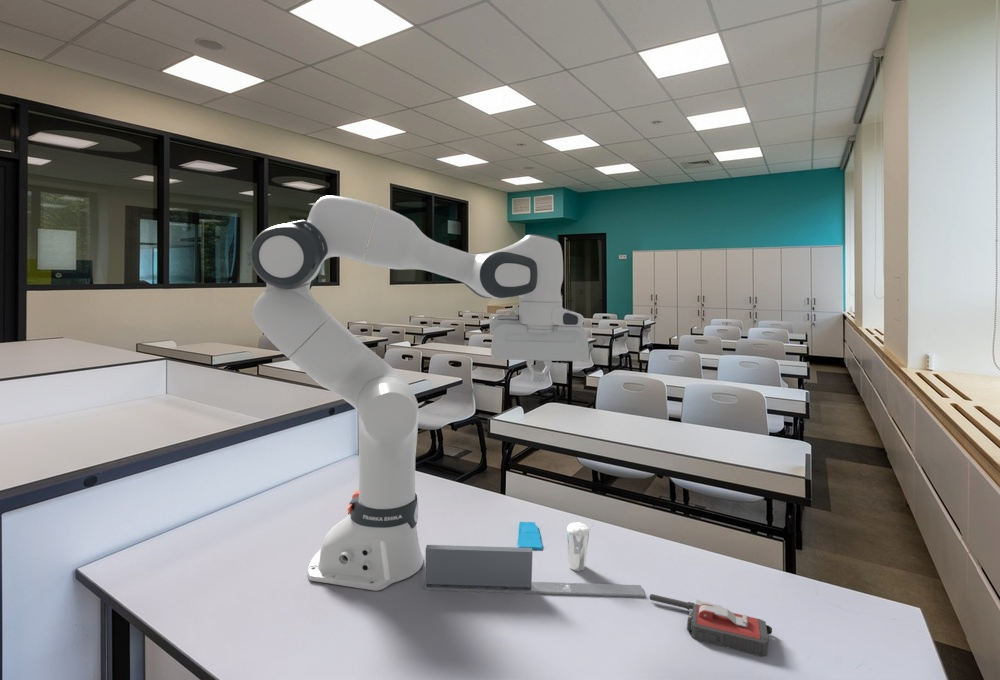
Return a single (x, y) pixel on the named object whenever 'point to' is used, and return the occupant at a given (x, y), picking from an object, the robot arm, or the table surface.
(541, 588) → the rail
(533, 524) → the sponge
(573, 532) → the milkshake
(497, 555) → the screen
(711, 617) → the walkie-talkie
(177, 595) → the table surface
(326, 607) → the table surface
